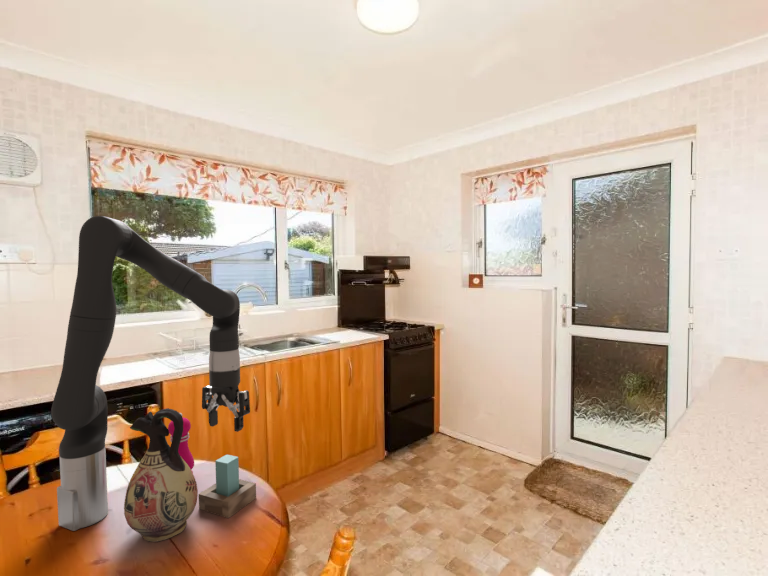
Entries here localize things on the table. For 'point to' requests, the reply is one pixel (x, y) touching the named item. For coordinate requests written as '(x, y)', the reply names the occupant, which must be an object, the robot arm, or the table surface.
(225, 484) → the peg
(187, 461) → the pepper mill
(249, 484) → the socket block
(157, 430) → the ceramic jug
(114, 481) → the table surface
